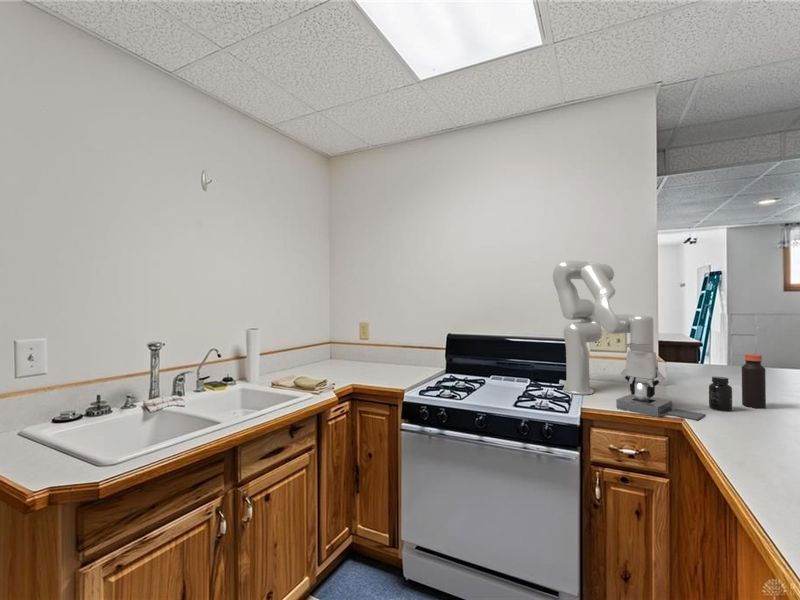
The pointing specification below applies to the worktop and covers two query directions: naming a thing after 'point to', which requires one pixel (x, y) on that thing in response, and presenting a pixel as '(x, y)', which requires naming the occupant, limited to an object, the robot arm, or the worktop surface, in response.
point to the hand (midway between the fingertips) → (642, 394)
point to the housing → (644, 405)
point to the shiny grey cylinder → (641, 391)
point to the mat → (686, 414)
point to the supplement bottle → (720, 394)
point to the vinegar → (753, 382)
